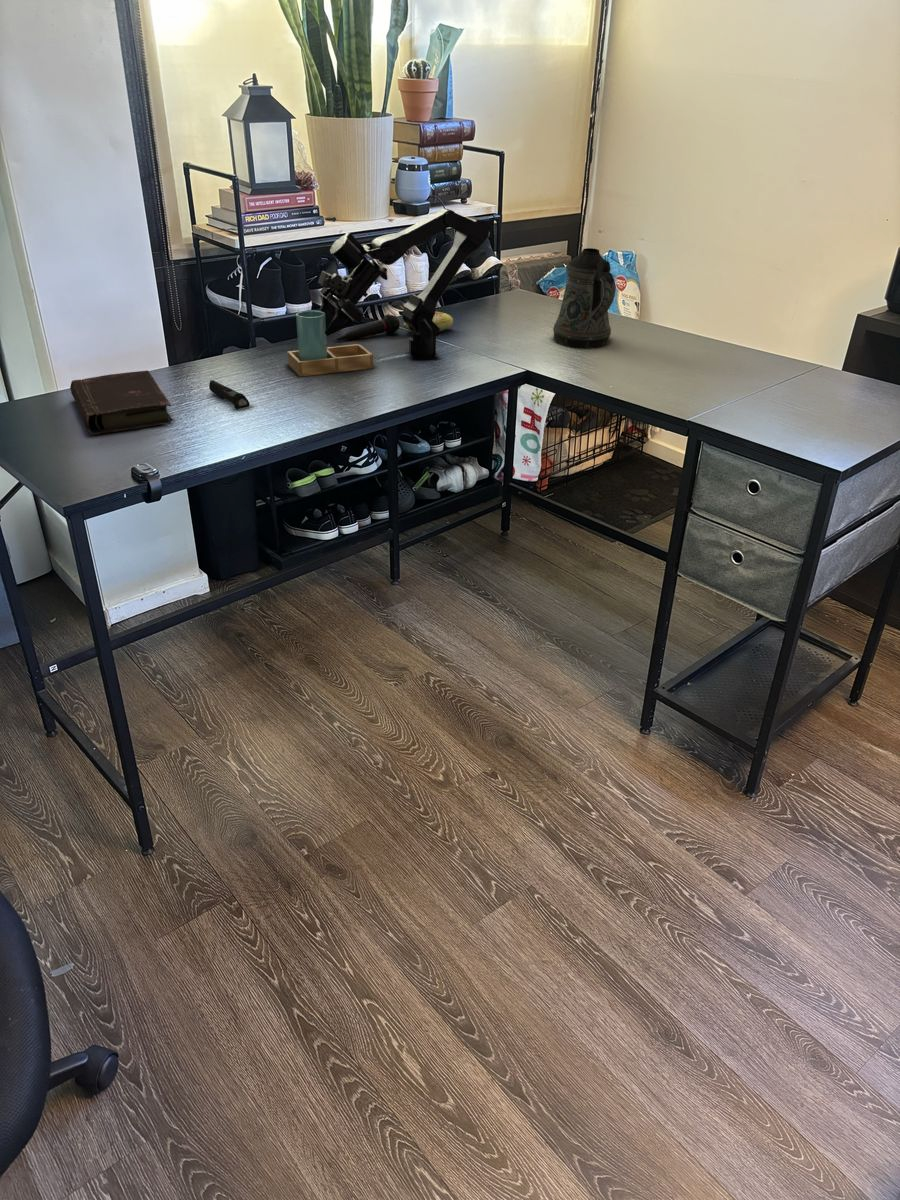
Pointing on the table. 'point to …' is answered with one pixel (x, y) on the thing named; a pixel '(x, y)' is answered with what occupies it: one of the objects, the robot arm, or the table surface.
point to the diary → (120, 402)
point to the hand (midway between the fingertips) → (320, 330)
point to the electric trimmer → (229, 395)
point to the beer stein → (586, 302)
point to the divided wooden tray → (333, 361)
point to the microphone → (374, 328)
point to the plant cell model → (439, 321)
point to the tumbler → (311, 335)
